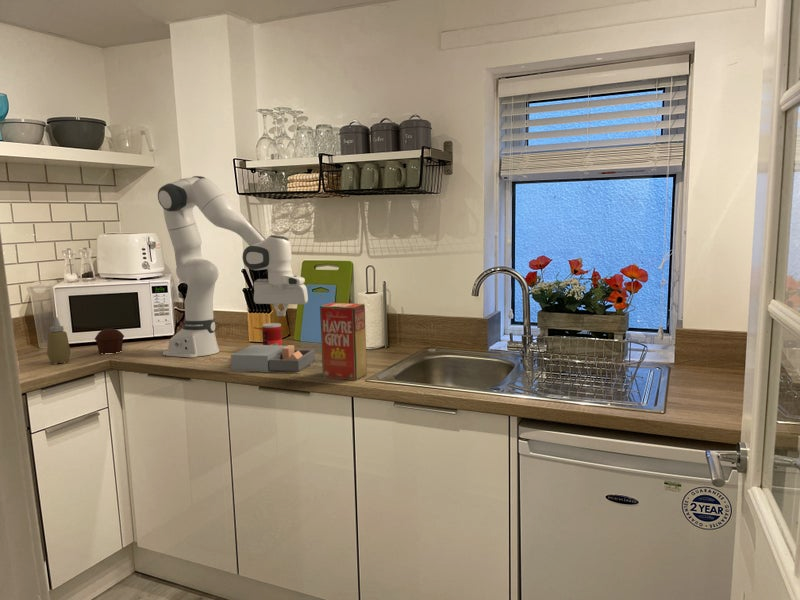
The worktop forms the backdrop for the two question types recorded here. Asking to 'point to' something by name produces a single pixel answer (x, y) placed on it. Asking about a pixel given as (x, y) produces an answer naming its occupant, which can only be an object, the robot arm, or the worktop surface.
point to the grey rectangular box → (255, 357)
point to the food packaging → (343, 341)
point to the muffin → (109, 341)
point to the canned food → (272, 334)
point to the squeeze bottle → (58, 344)
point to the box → (292, 362)
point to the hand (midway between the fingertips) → (281, 315)
